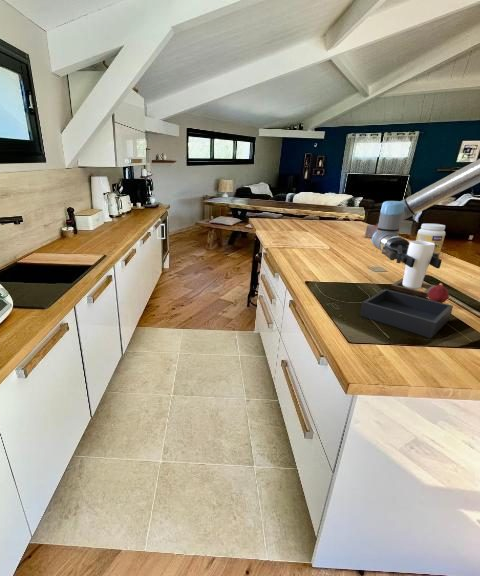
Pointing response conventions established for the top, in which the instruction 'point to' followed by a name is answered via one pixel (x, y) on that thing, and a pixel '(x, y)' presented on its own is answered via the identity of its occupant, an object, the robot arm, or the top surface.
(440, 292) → the onion
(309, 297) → the top surface
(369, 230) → the food item
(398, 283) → the small square dish
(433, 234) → the supplement tub
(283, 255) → the top surface
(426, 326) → the dark grey tray
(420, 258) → the drinking glass
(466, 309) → the top surface
